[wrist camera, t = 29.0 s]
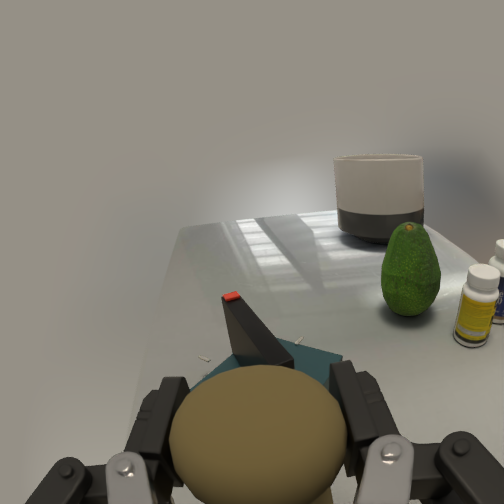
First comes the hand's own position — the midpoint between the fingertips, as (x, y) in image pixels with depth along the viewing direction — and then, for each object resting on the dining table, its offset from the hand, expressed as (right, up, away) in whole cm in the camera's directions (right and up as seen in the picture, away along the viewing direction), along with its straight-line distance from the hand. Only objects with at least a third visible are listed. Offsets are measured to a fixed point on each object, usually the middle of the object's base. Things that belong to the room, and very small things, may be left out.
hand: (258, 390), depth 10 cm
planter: (+28, +8, +53) cm, 60 cm away
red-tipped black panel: (+1, -6, +15) cm, 16 cm away
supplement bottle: (+25, -5, +17) cm, 31 cm away
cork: (+1, -9, +1) cm, 10 cm away
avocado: (+20, -3, +25) cm, 32 cm away
